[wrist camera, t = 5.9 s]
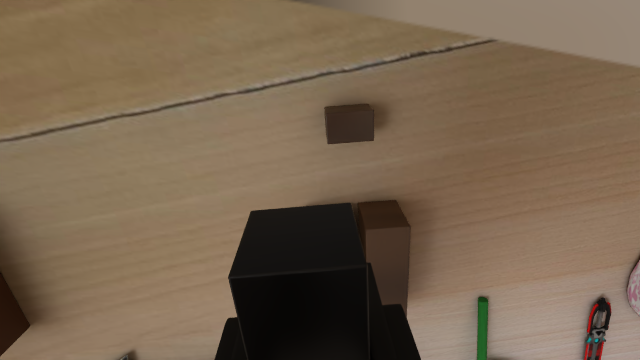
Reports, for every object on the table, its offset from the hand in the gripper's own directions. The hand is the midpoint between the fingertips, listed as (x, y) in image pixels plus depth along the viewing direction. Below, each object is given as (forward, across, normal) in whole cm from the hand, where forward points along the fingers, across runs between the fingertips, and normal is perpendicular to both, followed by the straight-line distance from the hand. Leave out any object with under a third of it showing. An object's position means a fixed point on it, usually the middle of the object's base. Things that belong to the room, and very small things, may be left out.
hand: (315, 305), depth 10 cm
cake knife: (+1, 0, +5) cm, 5 cm away
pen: (+14, -25, +22) cm, 37 cm away
